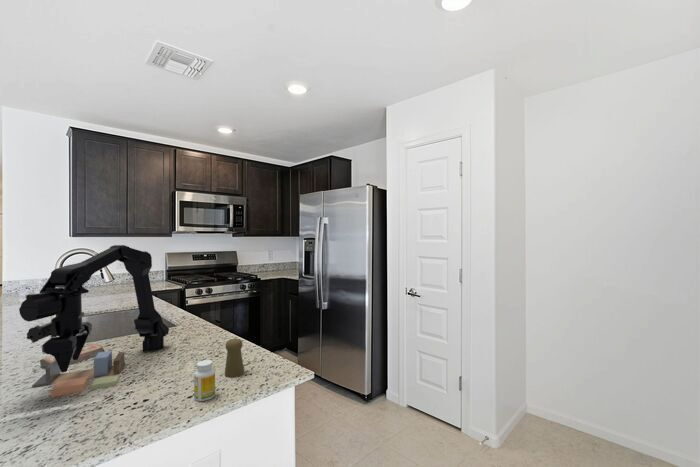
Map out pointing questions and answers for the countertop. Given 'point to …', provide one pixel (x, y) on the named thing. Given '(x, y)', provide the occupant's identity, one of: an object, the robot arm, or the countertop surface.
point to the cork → (234, 358)
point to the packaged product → (85, 354)
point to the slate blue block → (102, 363)
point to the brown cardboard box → (69, 386)
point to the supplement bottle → (204, 381)
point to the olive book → (105, 382)
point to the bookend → (49, 375)
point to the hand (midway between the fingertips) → (70, 365)
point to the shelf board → (92, 371)
